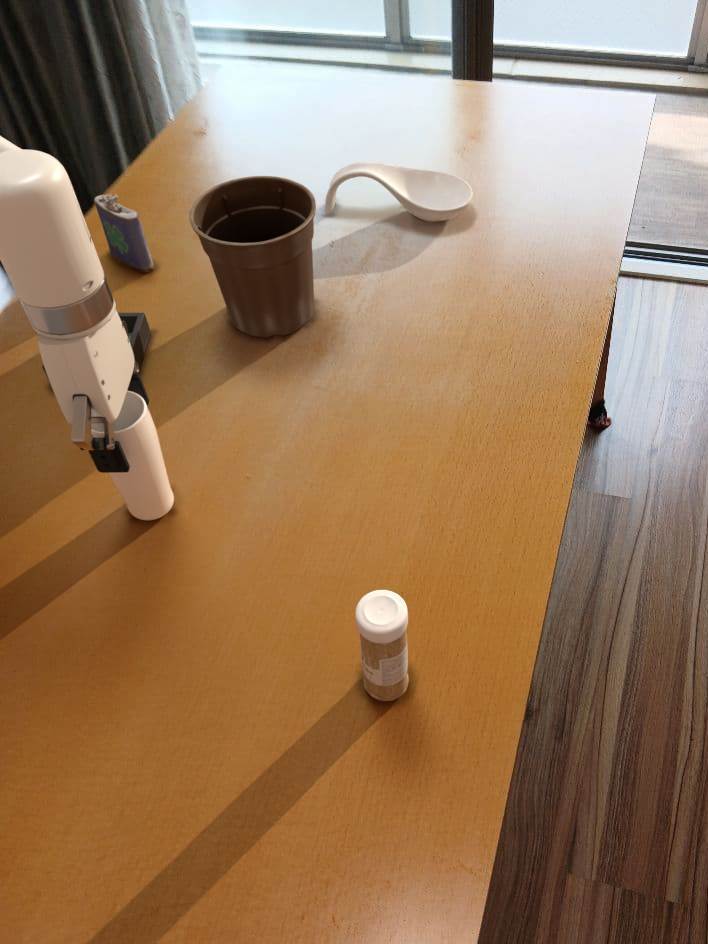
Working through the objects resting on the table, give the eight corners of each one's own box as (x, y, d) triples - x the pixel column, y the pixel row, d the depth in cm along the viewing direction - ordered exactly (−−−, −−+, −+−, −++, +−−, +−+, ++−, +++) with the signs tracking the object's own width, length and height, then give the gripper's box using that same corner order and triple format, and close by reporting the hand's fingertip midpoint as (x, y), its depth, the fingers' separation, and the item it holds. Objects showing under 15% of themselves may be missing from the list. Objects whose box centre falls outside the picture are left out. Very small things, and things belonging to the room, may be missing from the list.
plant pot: (192, 330, 115) (162, 225, 102) (252, 268, 123) (233, 164, 111) (291, 361, 110) (274, 256, 97) (347, 294, 119) (338, 190, 106)
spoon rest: (473, 194, 135) (475, 151, 129) (470, 234, 128) (472, 190, 122) (332, 189, 137) (328, 147, 131) (321, 229, 130) (317, 186, 124)
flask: (158, 267, 124) (138, 201, 115) (142, 276, 123) (121, 210, 114) (120, 245, 128) (98, 180, 119) (105, 254, 126) (81, 188, 118)
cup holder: (51, 387, 108) (41, 366, 105) (73, 333, 115) (64, 313, 112) (134, 386, 108) (127, 366, 105) (151, 332, 115) (144, 312, 112)
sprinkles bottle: (357, 671, 82) (347, 597, 71) (399, 655, 83) (395, 580, 72) (373, 710, 79) (366, 639, 68) (416, 693, 80) (416, 621, 69)
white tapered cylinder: (178, 525, 93) (143, 432, 81) (119, 529, 93) (74, 437, 81) (183, 481, 97) (150, 386, 86) (126, 485, 97) (85, 391, 85)
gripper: (53, 245, 78) (109, 381, 91) (-5, 364, 67) (69, 499, 81) (130, 243, 78) (175, 380, 91) (85, 363, 67) (143, 498, 81)
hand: (125, 436), depth 86 cm, fingers open, 9 cm apart
